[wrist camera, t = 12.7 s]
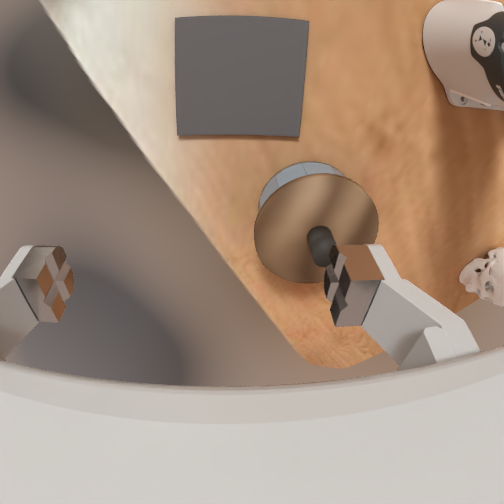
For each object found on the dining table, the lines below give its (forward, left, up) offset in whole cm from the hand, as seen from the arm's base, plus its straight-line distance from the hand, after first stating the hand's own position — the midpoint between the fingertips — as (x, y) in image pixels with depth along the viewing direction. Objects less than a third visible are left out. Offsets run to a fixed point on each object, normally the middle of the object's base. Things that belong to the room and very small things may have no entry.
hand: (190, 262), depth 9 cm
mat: (-2, -2, -31) cm, 31 cm away
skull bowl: (-55, +27, -32) cm, 69 cm away
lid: (-12, +16, -25) cm, 32 cm away
